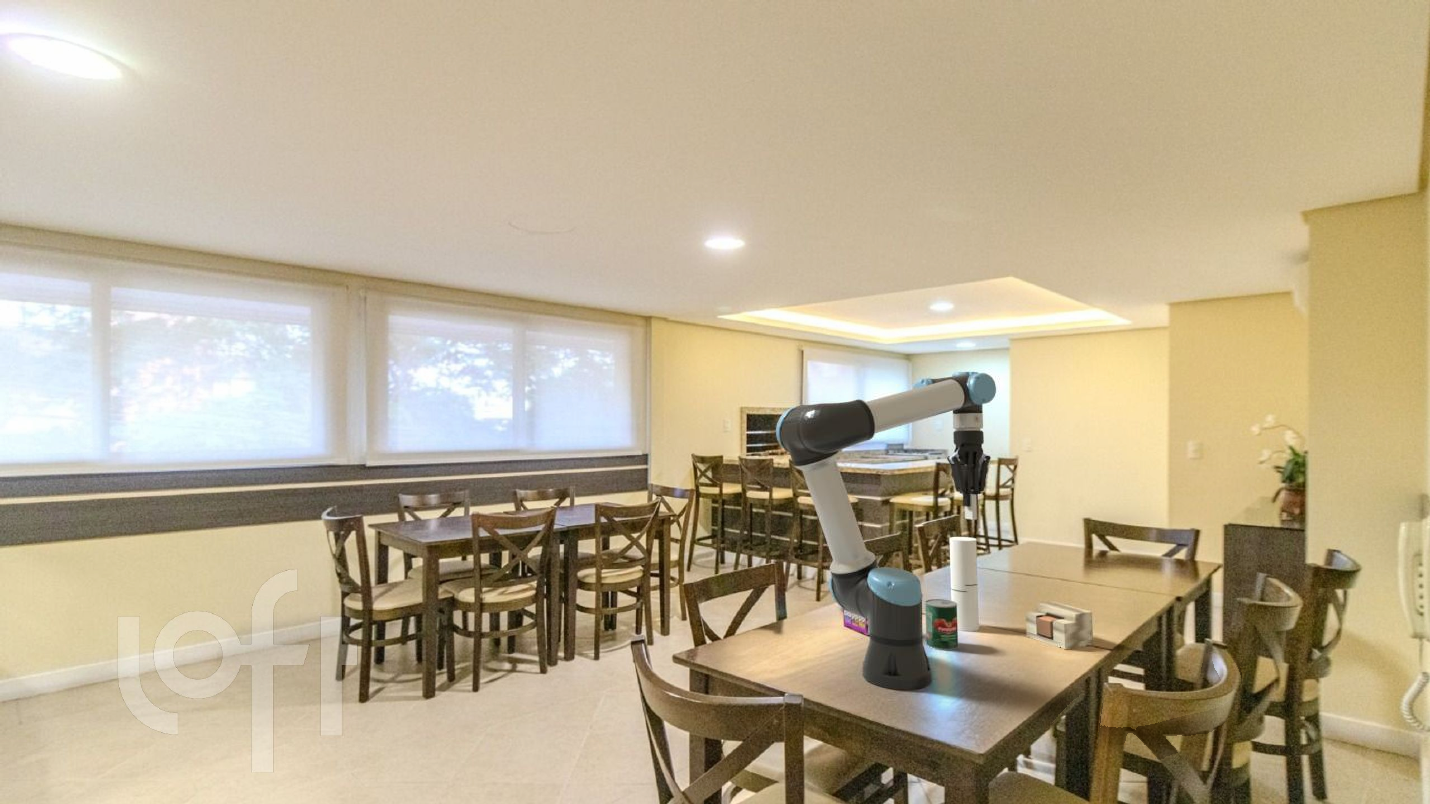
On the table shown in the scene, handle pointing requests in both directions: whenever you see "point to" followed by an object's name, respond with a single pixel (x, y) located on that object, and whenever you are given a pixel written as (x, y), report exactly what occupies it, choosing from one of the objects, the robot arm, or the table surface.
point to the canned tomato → (941, 624)
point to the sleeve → (1062, 625)
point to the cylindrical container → (964, 582)
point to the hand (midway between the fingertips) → (970, 518)
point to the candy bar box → (856, 622)
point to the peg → (1045, 625)
